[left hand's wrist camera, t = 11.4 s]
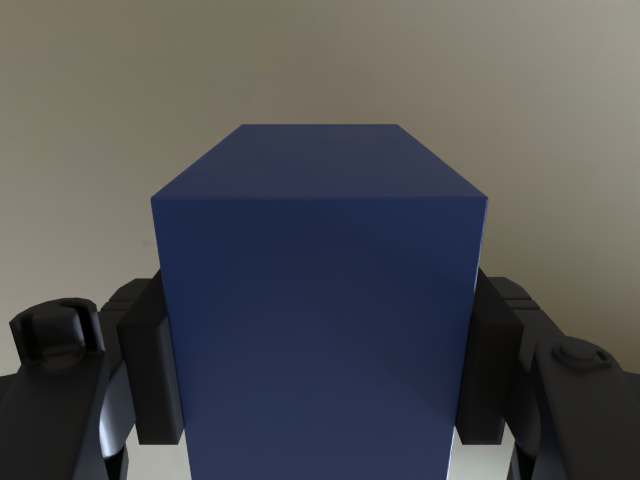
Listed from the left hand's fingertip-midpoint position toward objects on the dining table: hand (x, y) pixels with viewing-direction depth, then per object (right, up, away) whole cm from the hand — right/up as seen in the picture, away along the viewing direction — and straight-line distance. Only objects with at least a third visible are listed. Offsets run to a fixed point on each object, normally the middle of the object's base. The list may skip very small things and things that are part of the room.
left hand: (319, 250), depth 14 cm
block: (0, +1, +3) cm, 3 cm away
